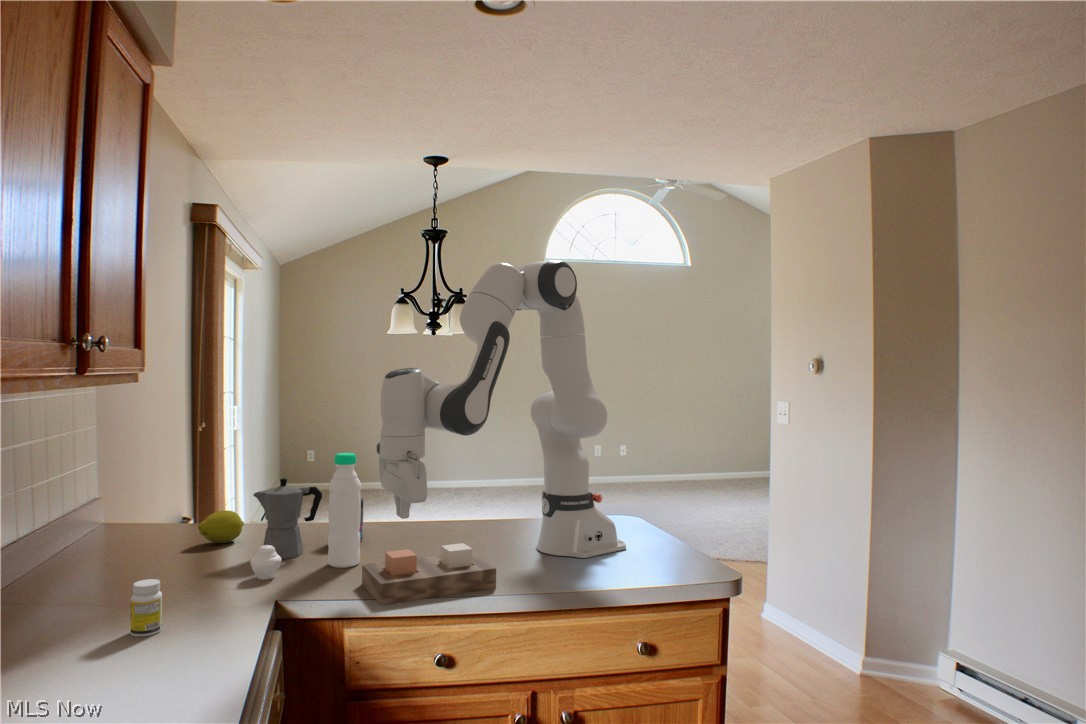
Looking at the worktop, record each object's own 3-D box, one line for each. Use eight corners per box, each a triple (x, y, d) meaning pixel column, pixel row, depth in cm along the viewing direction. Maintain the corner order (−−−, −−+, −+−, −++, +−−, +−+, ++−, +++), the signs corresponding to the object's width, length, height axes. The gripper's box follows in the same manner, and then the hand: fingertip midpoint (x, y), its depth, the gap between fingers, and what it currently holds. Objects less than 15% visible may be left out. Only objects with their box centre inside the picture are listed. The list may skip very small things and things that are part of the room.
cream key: (462, 566, 156) (463, 543, 156) (471, 572, 151) (472, 548, 151) (440, 569, 153) (441, 545, 153) (449, 575, 149) (449, 551, 149)
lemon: (240, 536, 187) (240, 505, 187) (248, 543, 180) (248, 511, 180) (194, 542, 180) (194, 510, 180) (201, 549, 174) (201, 516, 174)
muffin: (285, 578, 153) (286, 545, 153) (256, 584, 149) (256, 550, 149) (274, 571, 158) (275, 539, 158) (245, 576, 154) (246, 543, 154)
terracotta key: (408, 573, 150) (409, 549, 150) (416, 580, 146) (416, 555, 145) (384, 576, 148) (385, 551, 148) (391, 583, 143) (392, 558, 143)
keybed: (469, 569, 161) (470, 551, 161) (495, 587, 149) (496, 568, 149) (361, 584, 150) (362, 564, 150) (380, 605, 138) (380, 584, 138)
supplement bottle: (138, 627, 125) (139, 578, 125) (167, 626, 125) (167, 577, 125) (124, 637, 120) (125, 587, 120) (154, 637, 120) (155, 586, 120)
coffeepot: (252, 562, 164) (253, 482, 164) (252, 551, 173) (253, 476, 173) (323, 556, 170) (324, 479, 170) (319, 546, 179) (320, 473, 179)
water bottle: (351, 569, 160) (352, 456, 160) (321, 567, 161) (323, 454, 161) (365, 560, 167) (366, 452, 167) (336, 558, 168) (338, 451, 168)
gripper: (435, 454, 139) (435, 526, 139) (402, 442, 157) (402, 506, 157) (403, 456, 136) (403, 530, 136) (373, 444, 154) (373, 509, 154)
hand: (402, 517), depth 147 cm, fingers closed
